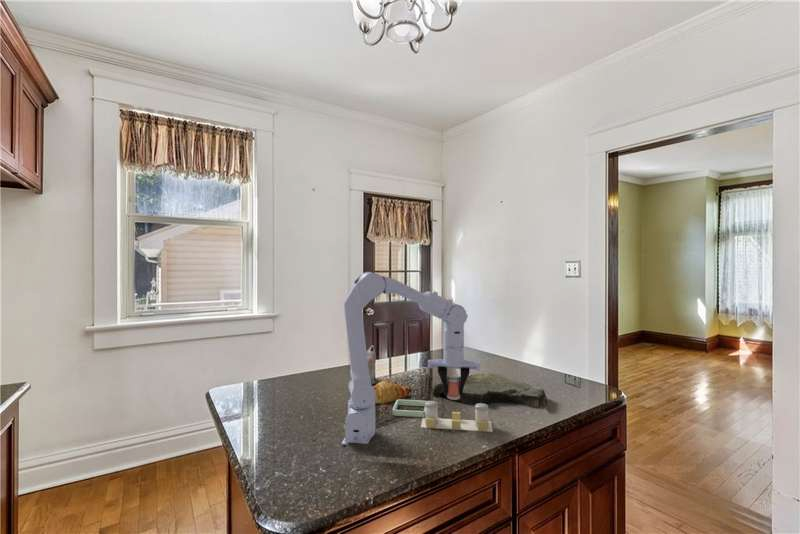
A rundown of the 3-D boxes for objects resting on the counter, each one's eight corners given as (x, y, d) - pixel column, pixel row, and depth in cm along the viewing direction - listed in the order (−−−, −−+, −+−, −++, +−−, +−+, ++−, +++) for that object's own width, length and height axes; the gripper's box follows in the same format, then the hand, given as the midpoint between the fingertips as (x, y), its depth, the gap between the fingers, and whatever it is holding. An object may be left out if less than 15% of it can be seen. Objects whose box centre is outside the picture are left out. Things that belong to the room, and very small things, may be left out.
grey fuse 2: (488, 429, 103) (488, 408, 103) (475, 428, 104) (475, 407, 104) (487, 423, 107) (487, 403, 107) (474, 422, 107) (474, 403, 107)
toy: (362, 390, 137) (362, 349, 137) (353, 375, 156) (353, 339, 155) (379, 388, 139) (379, 348, 139) (369, 373, 157) (368, 338, 157)
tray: (425, 420, 111) (425, 412, 111) (391, 418, 113) (391, 410, 113) (427, 408, 120) (427, 400, 120) (396, 406, 122) (396, 399, 122)
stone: (558, 387, 125) (508, 408, 106) (557, 406, 125) (508, 430, 107) (473, 363, 152) (422, 376, 133) (472, 379, 152) (421, 394, 133)
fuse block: (492, 435, 102) (492, 423, 102) (420, 430, 105) (420, 419, 105) (490, 424, 108) (490, 413, 108) (422, 420, 111) (422, 409, 111)
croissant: (355, 419, 121) (358, 401, 117) (346, 396, 129) (349, 378, 125) (414, 407, 129) (419, 390, 126) (403, 385, 137) (407, 369, 134)
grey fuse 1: (437, 425, 105) (437, 405, 105) (424, 425, 106) (424, 405, 106) (438, 420, 109) (438, 401, 109) (425, 419, 110) (425, 400, 109)
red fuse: (460, 400, 105) (460, 379, 105) (447, 399, 105) (447, 379, 105) (460, 395, 108) (460, 376, 108) (447, 394, 109) (447, 375, 109)
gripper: (479, 343, 110) (479, 390, 110) (429, 342, 112) (429, 387, 112) (480, 349, 103) (480, 399, 103) (427, 347, 105) (427, 396, 105)
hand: (453, 393), depth 107 cm, fingers closed on red fuse, 3 cm apart
